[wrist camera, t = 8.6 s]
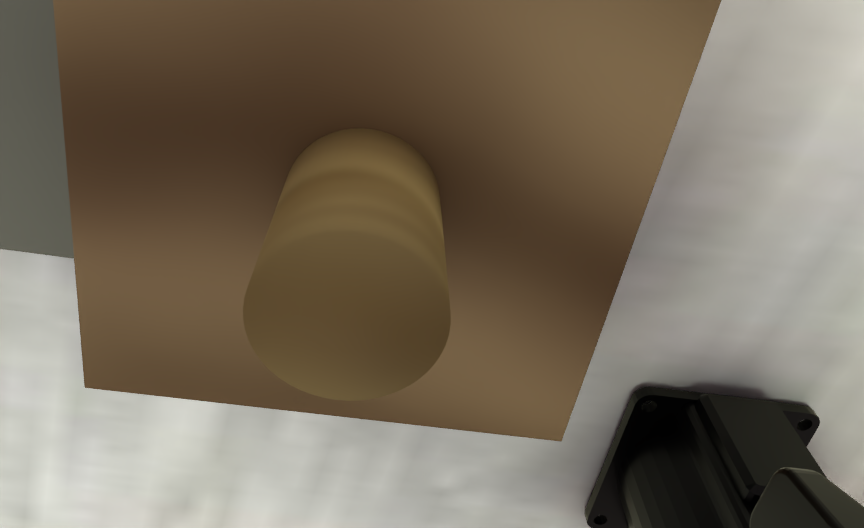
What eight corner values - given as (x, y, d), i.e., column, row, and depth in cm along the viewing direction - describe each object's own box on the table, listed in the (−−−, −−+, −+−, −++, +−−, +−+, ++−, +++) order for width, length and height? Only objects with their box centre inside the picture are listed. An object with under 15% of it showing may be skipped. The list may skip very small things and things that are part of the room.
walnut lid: (552, 407, 18) (599, 591, 14) (104, 354, 17) (-5, 537, 12) (711, -57, 13) (876, -4, 8) (70, -185, 12) (-144, -203, 7)
